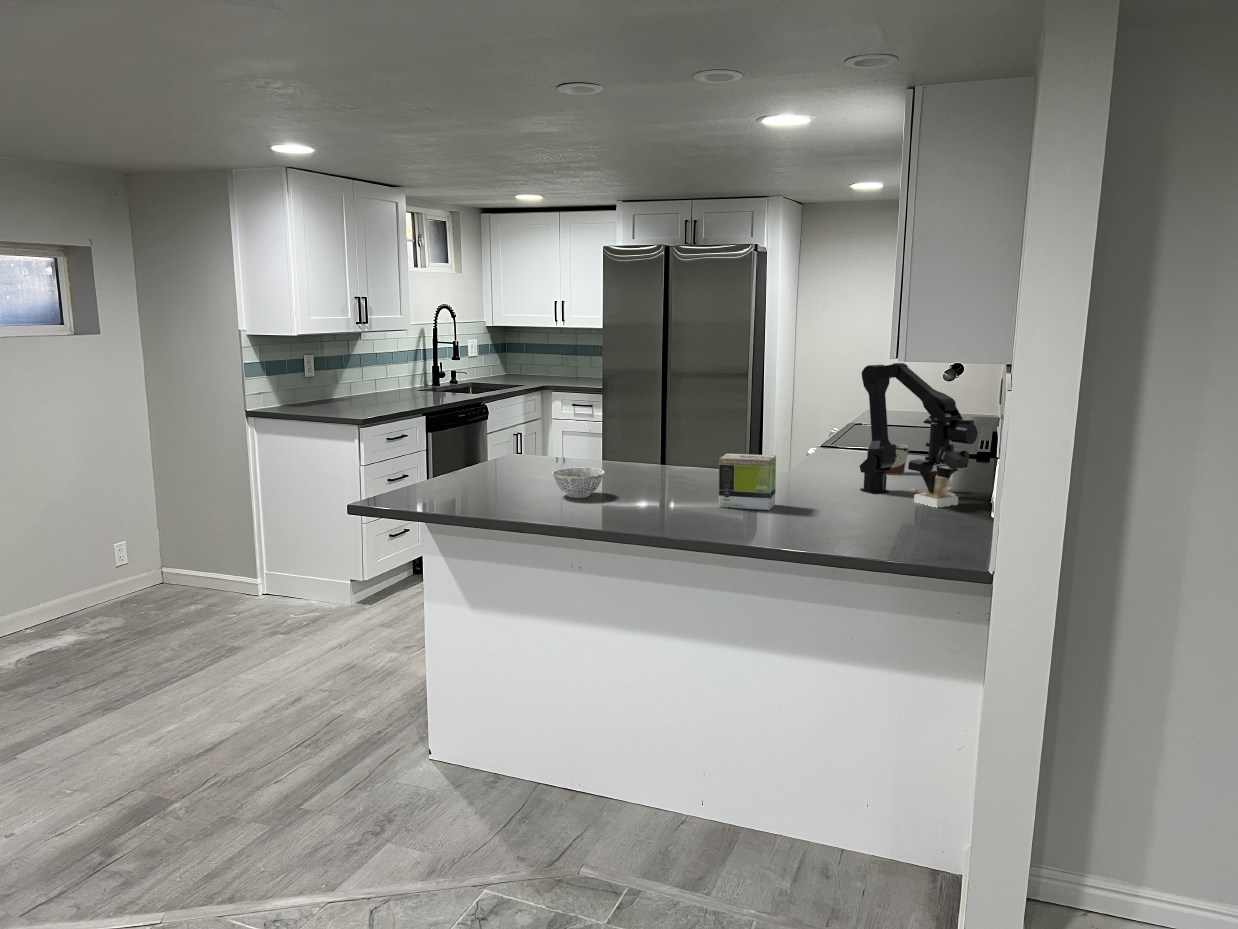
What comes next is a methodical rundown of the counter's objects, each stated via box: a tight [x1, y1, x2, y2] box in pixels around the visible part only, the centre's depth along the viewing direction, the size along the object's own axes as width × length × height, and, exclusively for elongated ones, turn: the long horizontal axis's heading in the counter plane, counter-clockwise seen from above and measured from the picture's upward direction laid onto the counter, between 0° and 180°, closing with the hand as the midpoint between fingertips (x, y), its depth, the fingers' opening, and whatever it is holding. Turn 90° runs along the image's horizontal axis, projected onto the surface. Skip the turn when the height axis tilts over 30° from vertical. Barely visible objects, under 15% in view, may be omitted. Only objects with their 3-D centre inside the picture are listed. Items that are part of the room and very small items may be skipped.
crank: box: [947, 473, 954, 492], centre depth 279 cm, size 12×3×4 cm, turn 149°
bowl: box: [551, 466, 605, 499], centre depth 276 cm, size 16×16×8 cm
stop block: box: [925, 475, 948, 499], centre depth 265 cm, size 4×4×6 cm
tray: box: [913, 492, 959, 509], centre depth 266 cm, size 9×9×2 cm
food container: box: [886, 443, 910, 475], centre depth 315 cm, size 12×6×10 cm, turn 84°
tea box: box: [718, 453, 777, 511], centre depth 262 cm, size 15×10×15 cm
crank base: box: [910, 487, 957, 496], centre depth 279 cm, size 8×16×1 cm, turn 29°
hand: (936, 492), depth 266 cm, fingers closed on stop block, 4 cm apart
